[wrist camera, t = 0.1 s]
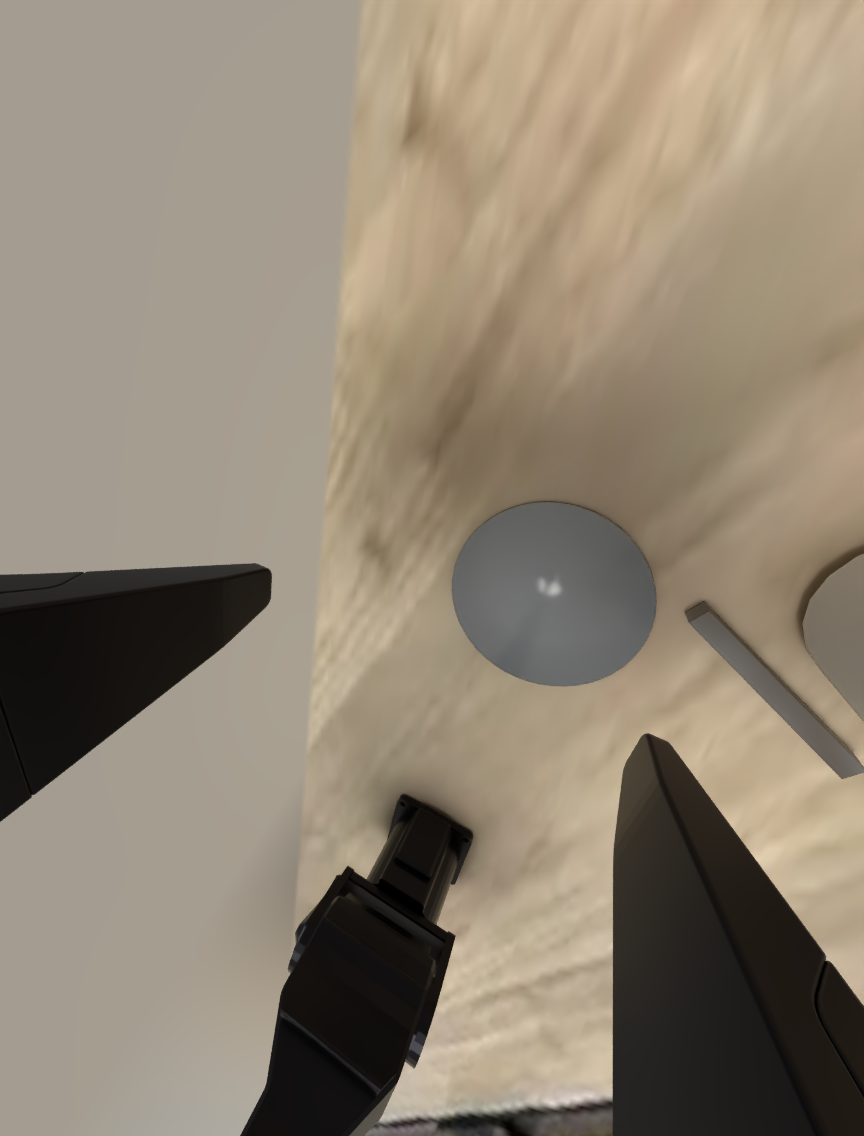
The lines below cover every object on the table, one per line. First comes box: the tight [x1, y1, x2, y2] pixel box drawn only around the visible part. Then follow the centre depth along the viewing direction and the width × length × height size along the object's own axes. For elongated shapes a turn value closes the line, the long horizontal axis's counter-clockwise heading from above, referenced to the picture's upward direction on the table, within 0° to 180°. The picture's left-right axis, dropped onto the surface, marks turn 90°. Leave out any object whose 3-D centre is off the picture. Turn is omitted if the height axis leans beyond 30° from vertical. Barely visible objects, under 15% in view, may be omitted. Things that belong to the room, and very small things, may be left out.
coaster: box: [452, 502, 656, 686], centre depth 23 cm, size 11×11×1 cm
